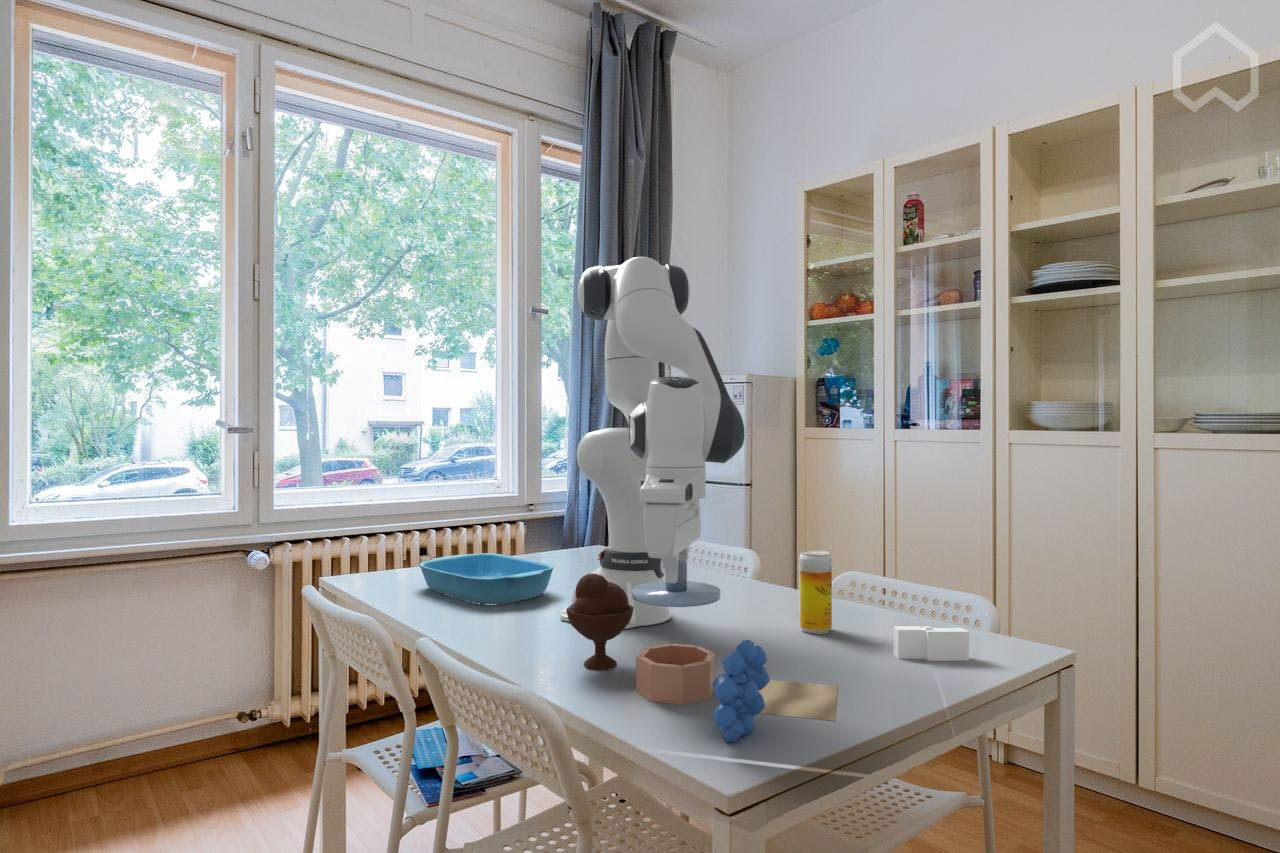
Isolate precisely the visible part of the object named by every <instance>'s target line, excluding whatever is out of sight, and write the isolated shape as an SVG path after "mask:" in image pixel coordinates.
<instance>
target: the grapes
mask: <svg viewBox="0 0 1280 853" xmlns="http://www.w3.org/2000/svg"><path fill="white" fill-rule="evenodd" d="M767 661H768V659H767V654H766V652H765V650H764V649H763V647H761V646H759V645H755V643H754V642H753V641H751V640H750V639H745V640H744V639H743V640H742V641H741V642H739V643H738V645H737V646H736V647H735V649H734V651H732V652H730V653H729V654H728V655H727V656H726V657H725V658H724V659H723V661H722V667H723V671H724V672H723V673H721V674H719V675H717V677H716V679H715V681H714V682H713V688H714V692H713V693H714V696H715V697H716V699H717V701H718V702H719V704H718V705H717V706H716V707H715V709H714V710H713V711H712V717H713V721H714V723H715V724H716V726H717V728H719V729H720V732H721V736H722V737H723V739H724V741H725V742H727V743H729V744H730V743H734V742H736V741H737V740H738V739H739V738H740V737H744V736H749V735H750V734H751V733H752V731H753V730H754V729H755V727H756V726H755V725H756V724H755V719H754V717H757V716H758V715H759V713H760V712H761V711H762V710H763V709H764V707H765V702H764V699H763V697H762V695H761V693H760V692H759V690H761V689H763V688H764V687H765V686H766V685H767V684H768V682H769V681H770V680H771V679H770V677H769V672H768V670H767V669H766V668H765V667H764V665H765V664H766V662H767Z"/></svg>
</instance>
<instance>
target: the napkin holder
mask: <svg viewBox="0 0 1280 853" xmlns="http://www.w3.org/2000/svg"><path fill="white" fill-rule="evenodd" d="M969 640H970V632H969V631H968V630H967V629H965V628H964V627H931V625H929V626H928V625H926V626H925V625H923V626H921V625H920V626H919V625H914V626H913V625H912V626H911V625H909V626H907V625H904V626H903V625H901V626H899V625H898V626H897V625H896V626H895V625H894V626H893V655H894V656H895V657H896V658H897V659H898V660H899V659H900V660H901V659H902V660H903V659H905V660H907V659H913V660H916V659H917V660H918V659H921V660H922V659H923V660H924V659H926V660H927V661H928V662H930V661H933V662H934V661H935V662H936V661H938V662H940V661H941V662H942V661H945V662H946V661H947V662H948V661H949V662H950V661H951V662H952V661H953V662H954V661H959V662H960V661H969V660H970V648H969V647H970V641H969Z"/></svg>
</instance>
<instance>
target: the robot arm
mask: <svg viewBox="0 0 1280 853" xmlns="http://www.w3.org/2000/svg"><path fill="white" fill-rule="evenodd" d="M690 298H691V285H690V282H689V279H688V274H687V273H686V271H685V270H684V268H682V267H680V266H676V265H673V264H665V265H661V263H660V262H659V261H657V260H656V259H654V258H651V257H648V256H635V257H631V258H629V259H627V260H626V261H624V262H623V263H622V264H619V265H618V264H617V265H608V266H602V265H596V266H593V267H592V266H591V267H589V268H586V269H585V271H583V273H582V274H581V278H580V280H579V282H578V285H577V299H578V304H579V305H580V308H581V310H582V314H584V315H585V316H586V317H587V318H588V319H591V320H596V321H601V322H602V321H603V320H606V321H607V324H606V330H605V339H604V340H605V341H604V372H605V373H604V375H605V394H606V398H607V400H608V402H609V403H610V404H611V405H612V406H613V407H615V408H616V409H618V410H620V411H621V412H622V414H623V415H624V417H625V418H626V419H625V420H626V421H627V424H628V427H606V428H601V429H598V430H593V431H590V432H586V434H584V436H582V438H581V439H580V440H579V443H578V445H577V449H576V462H577V466H578V468H579V470H580V472H581V473H582V475H583V476H584V477H585V478H586V479H588V480H589V481H590V482H591V483H592V484H593V485H594V486H595V487H596V489H597V490H598V492H599V494H600V495H601V497H602V500H603V503H604V505H605V509H606V515H607V526H608V527H607V528H608V529H607V530H608V546H606V547H604V548H603V550H602V551H600V553H599V554H597V556H598V557H597V561H599V564H600V566H599V567H597V568H596V569H595V570H594V571H592V572H591V573H590V574H598V575H602V576H603V577H604V578H605V579H606V580H607V581H608V582H612V583H614V584H617V585H618V586H620V587H621V588H622V589H623V590H624V591H625V593H626V595H627V597H628V603H629V605H631V606H633V607H634V609H633V614H632V617H631V620H630V622H629V624H628V625H627V626H626V627H625V628H624V629H623V630H626V629H631V628H635V627H640V626H641V627H642V626H651V625H657V624H661V623H665V622H667V621H668V620H670V619H671V617H672V616H671V613H670V611H669V610H670V608H669V607H663V606H654V605H648V604H644V603H640V602H638V601H636V600H634V599H633V588H634V587H636V586H638V585H641V584H645V583H650V582H658V581H666V582H667V583H676V582H677V581H678V580H679V569H678V561H684V562H688V559H689V552H690V551H689V550H690V549H689V548H690V546H691V545H692V544H694V543H695V542H696V541H697V540H699V539H700V537H701V532H702V531H701V529H702V528H701V526H702V525H701V507H700V506H701V505H700V500H702V499H705V498H706V495H707V494H706V493H707V491H706V489H707V487H706V486H707V485H706V481H707V480H706V478H707V477H706V475H707V474H706V473H707V472H706V470H707V469H706V462H707V463H716V464H717V463H718V464H719V463H720V464H725V463H727V462H728V461H729V460H731V459H733V457H735V455H737V453H738V452H739V451H740V450H741V449H742V448H743V445H744V442H745V425H744V420H743V417H742V415H741V412H740V411H739V408H738V407H737V405H736V404H735V403H734V401H733V400H732V398H731V396H730V395H729V392H728V389H727V387H726V384H725V383H724V381H723V378H722V376H721V373H720V371H719V369H718V366H717V364H716V362H715V359H714V357H713V354H712V353H711V351H710V348H709V346H708V344H707V342H706V340H705V338H704V336H703V334H702V333H701V332H700V330H698V329H696V328H695V327H693V326H691V324H689V322H687V321H686V319H684V317H683V316H682V315H683V314H684V313H685V311H686V310H687V308H688V304H689V301H690ZM659 363H663V364H666V365H668V366H671V367H674V368H676V369H678V370H680V371H682V372H683V373H685V375H687V377H682V376H663V377H660V372H659V371H660V370H659ZM641 481H644V483H643V484H642V485H641ZM664 576H665V577H664ZM575 590H576V587H575V588H574V590H573V593H572V594H573V595H572V599H571V604H570V605H568V606H567V607H565V608H564V609H562V611H561V612H560V620H561V621H563V622H569V623H570V621H569V619H568V615H567V610H566V609H567V608H568V607H569V606H571V605H572V604H574V603H575V601H576V600H577V598H576V594H575Z"/></svg>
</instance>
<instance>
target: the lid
mask: <svg viewBox="0 0 1280 853" xmlns="http://www.w3.org/2000/svg"><path fill="white" fill-rule="evenodd" d="M687 562H688V561H687ZM687 562H684V561H678V569H679V580H678V581H677V582H676V583H667V582H666V581H665V580H664V581H658V582H650V583H645V584H641V585H638V586H636V587H634V588H633V599H634V600H636V601H638V602H640V603H644V604H648V605H654V606H663V607H668V608H688V607H689V608H691V607H700V606H706V605H711V604H714V603H717V602H718V601H719V600H721V589H720V588H719V587H718V586H716V585H715V584H710V583H706V582H699V581H690V580H689V581H688V563H687Z"/></svg>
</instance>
